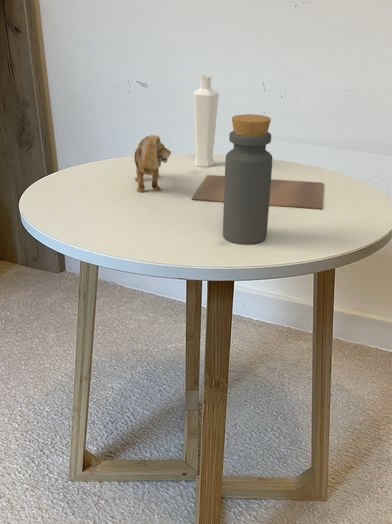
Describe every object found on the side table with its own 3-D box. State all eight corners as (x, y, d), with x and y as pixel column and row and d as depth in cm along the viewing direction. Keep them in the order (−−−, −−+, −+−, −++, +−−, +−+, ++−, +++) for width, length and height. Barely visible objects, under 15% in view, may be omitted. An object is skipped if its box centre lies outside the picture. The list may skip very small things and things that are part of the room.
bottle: (260, 247, 76) (269, 124, 69) (216, 240, 78) (220, 119, 70) (271, 232, 81) (280, 115, 73) (230, 226, 83) (235, 111, 75)
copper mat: (323, 183, 102) (323, 182, 102) (322, 209, 90) (322, 208, 90) (207, 176, 105) (207, 174, 105) (191, 199, 93) (191, 198, 93)
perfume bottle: (218, 162, 113) (221, 75, 105) (213, 167, 110) (216, 78, 102) (194, 160, 114) (195, 74, 106) (189, 165, 110) (189, 77, 103)
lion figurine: (173, 197, 94) (172, 137, 89) (139, 198, 93) (137, 138, 88) (156, 172, 106) (155, 119, 102) (126, 173, 105) (124, 119, 101)
